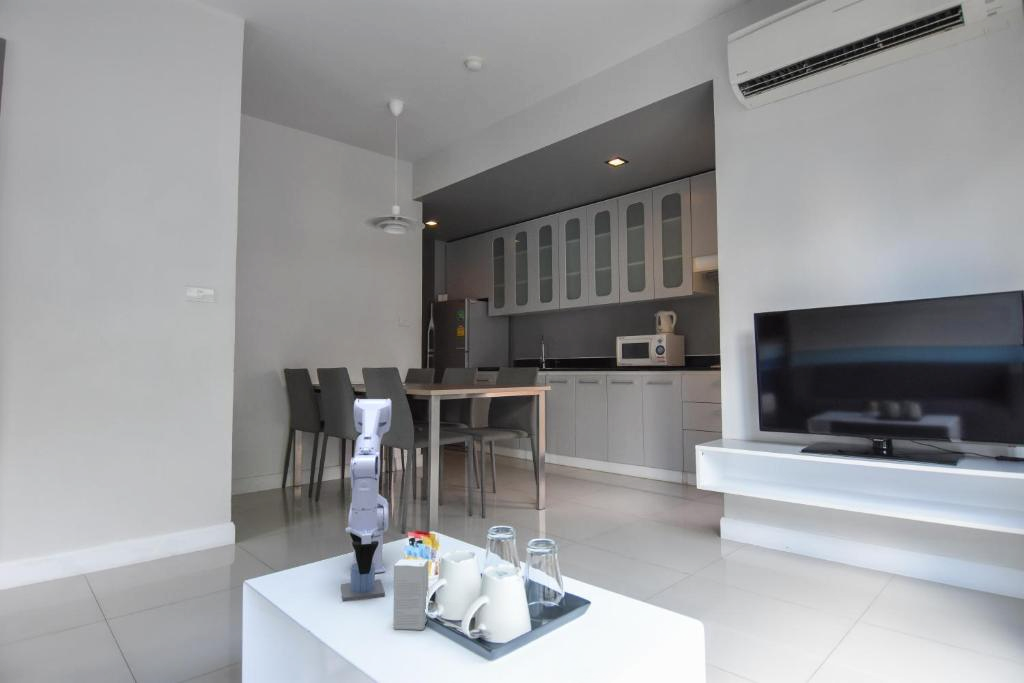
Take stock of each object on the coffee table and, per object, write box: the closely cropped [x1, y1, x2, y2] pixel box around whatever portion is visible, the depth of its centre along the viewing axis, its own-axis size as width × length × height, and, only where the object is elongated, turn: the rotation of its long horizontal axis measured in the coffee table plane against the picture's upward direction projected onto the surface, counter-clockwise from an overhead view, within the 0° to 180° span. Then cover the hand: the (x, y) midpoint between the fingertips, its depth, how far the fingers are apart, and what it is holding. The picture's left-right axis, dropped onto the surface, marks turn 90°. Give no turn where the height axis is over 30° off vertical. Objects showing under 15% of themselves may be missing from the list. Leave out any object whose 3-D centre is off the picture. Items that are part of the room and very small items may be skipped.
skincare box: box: [392, 558, 429, 631], centre depth 107 cm, size 6×4×12 cm
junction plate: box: [340, 579, 386, 602], centre depth 124 cm, size 9×9×4 cm
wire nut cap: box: [350, 563, 376, 593], centre depth 124 cm, size 5×5×5 cm
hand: (363, 568), depth 124 cm, fingers open, 7 cm apart
